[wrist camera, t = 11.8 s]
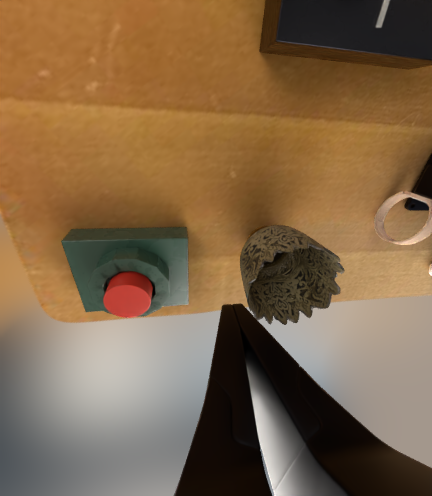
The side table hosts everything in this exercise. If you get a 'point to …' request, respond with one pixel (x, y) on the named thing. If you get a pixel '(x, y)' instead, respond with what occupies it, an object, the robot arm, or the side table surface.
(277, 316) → the cup
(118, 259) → the green block with collar
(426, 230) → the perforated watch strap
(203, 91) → the side table surface
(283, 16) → the panel
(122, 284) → the button
